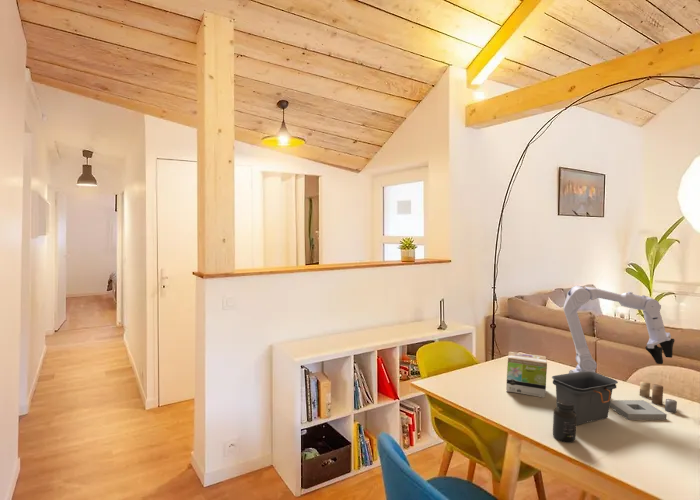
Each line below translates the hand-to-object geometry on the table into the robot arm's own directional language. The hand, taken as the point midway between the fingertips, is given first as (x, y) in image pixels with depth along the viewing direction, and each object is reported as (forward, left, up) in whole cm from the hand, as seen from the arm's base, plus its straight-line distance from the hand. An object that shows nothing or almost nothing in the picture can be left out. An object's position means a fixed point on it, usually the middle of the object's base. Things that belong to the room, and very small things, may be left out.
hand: (664, 360), depth 170 cm
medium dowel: (-4, +4, -16) cm, 17 cm away
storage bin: (-40, -16, -16) cm, 46 cm away
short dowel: (-4, -10, -16) cm, 19 cm away
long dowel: (-4, -3, -16) cm, 17 cm away
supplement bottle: (-55, -30, -16) cm, 65 cm away
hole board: (-18, -11, -16) cm, 27 cm away
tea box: (-51, +9, -16) cm, 55 cm away
